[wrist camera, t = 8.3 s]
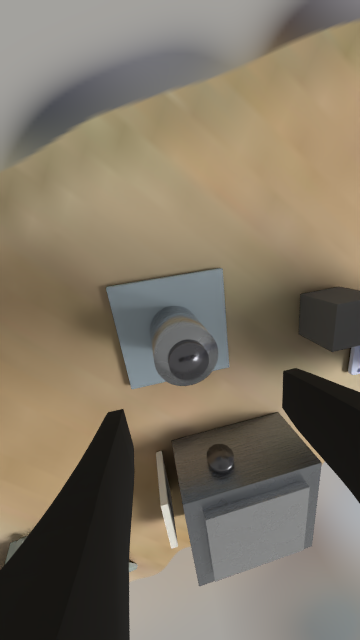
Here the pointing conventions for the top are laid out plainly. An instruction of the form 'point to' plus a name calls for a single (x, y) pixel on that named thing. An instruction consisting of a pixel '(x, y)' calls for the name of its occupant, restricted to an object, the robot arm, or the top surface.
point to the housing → (246, 495)
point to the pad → (154, 295)
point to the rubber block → (331, 318)
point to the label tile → (166, 500)
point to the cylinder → (182, 346)
